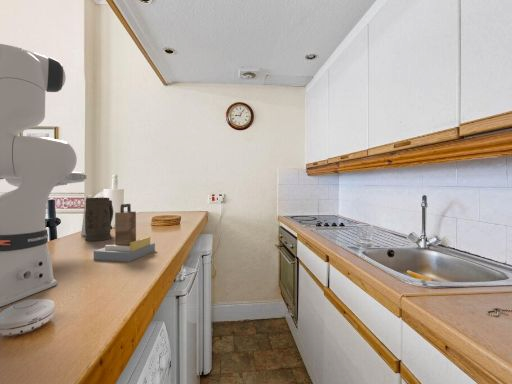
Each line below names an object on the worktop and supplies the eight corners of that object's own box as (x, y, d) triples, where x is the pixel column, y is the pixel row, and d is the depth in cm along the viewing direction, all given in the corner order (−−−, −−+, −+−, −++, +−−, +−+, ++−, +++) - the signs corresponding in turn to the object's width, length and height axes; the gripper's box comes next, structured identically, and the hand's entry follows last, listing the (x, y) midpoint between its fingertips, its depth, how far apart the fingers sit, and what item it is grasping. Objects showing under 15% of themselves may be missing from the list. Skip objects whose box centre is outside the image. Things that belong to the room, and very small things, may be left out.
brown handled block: (127, 248, 103) (127, 204, 102) (115, 248, 104) (115, 204, 103) (136, 245, 108) (135, 203, 107) (124, 245, 109) (124, 203, 108)
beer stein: (102, 241, 128) (103, 197, 129) (78, 241, 128) (80, 197, 129) (119, 237, 143) (120, 197, 144) (98, 237, 144) (99, 197, 144)
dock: (93, 259, 99) (93, 242, 99) (123, 248, 115) (123, 234, 115) (129, 261, 97) (129, 244, 96) (154, 250, 112) (154, 235, 112)
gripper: (19, 167, 102) (51, 166, 99) (67, 170, 122) (95, 169, 119) (19, 184, 102) (51, 185, 99) (67, 184, 122) (95, 184, 119)
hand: (75, 176), depth 109 cm, fingers open, 8 cm apart
